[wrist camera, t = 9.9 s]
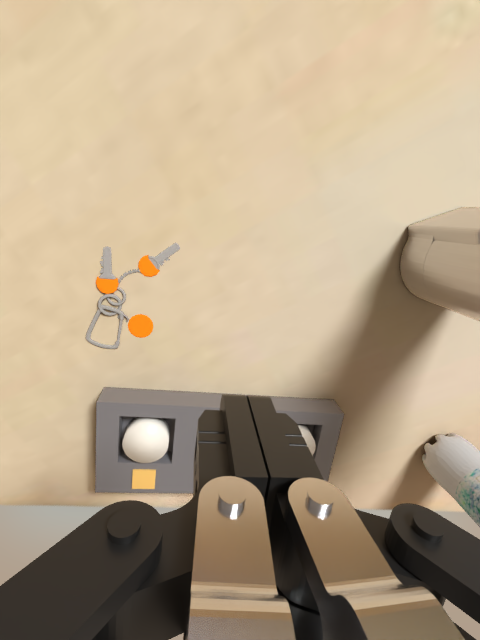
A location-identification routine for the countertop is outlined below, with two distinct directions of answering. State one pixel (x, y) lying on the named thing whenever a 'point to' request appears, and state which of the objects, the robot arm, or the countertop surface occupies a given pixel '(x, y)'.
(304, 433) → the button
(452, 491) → the bottle
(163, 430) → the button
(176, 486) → the panel
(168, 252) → the key chain
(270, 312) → the countertop surface
